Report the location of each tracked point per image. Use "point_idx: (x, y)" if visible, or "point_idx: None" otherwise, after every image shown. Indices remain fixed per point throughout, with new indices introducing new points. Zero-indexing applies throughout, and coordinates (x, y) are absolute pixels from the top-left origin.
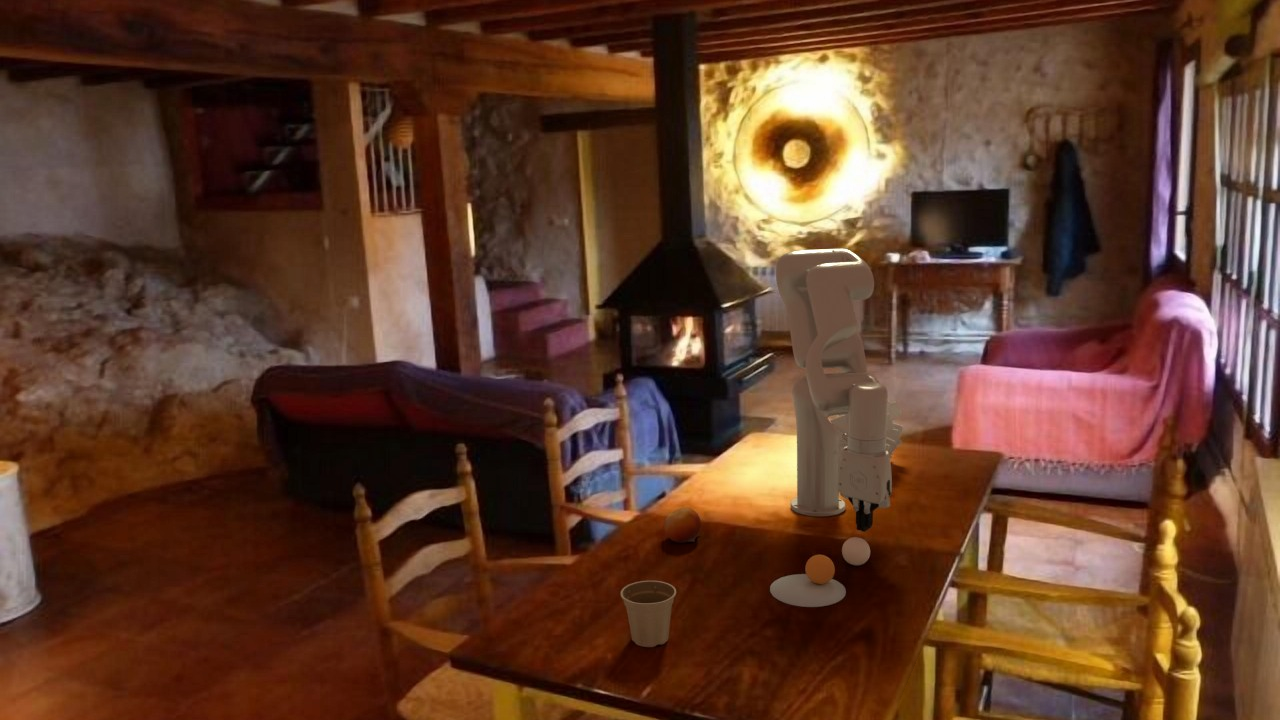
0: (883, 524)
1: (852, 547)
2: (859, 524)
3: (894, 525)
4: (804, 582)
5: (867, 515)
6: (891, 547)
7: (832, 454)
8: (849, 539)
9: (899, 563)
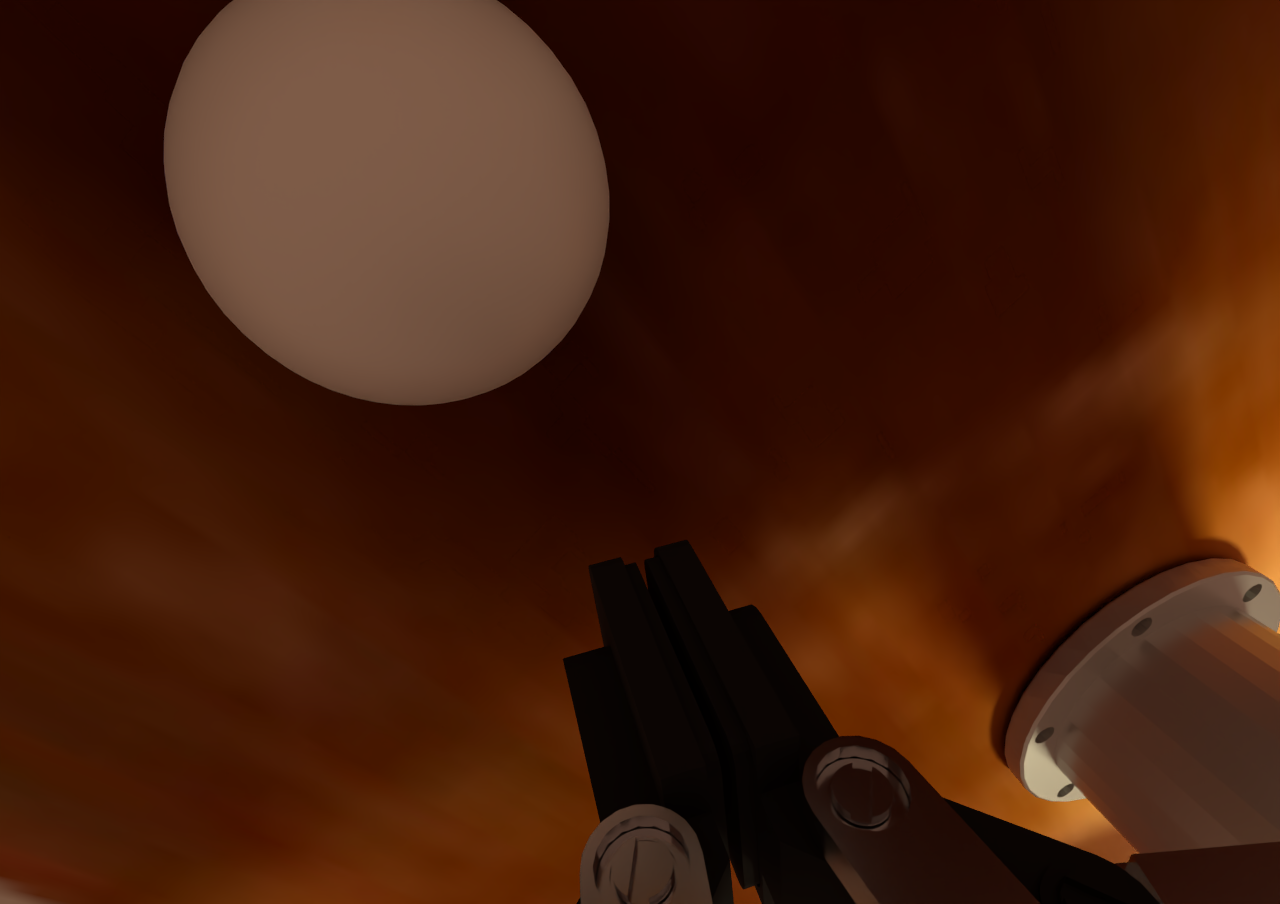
0: None
1: (301, 6)
2: (677, 602)
3: None
4: None
5: (626, 796)
6: (484, 678)
7: None
8: (501, 158)
9: (147, 537)
